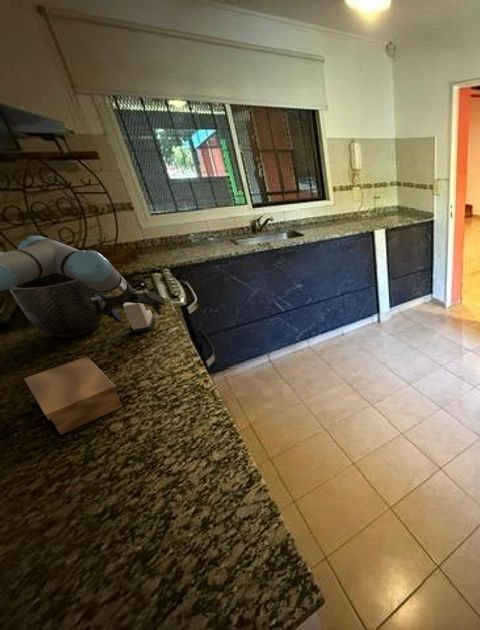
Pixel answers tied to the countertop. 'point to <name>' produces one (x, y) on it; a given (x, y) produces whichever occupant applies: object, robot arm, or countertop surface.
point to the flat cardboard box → (74, 394)
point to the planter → (58, 305)
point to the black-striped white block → (138, 316)
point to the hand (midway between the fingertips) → (140, 314)
